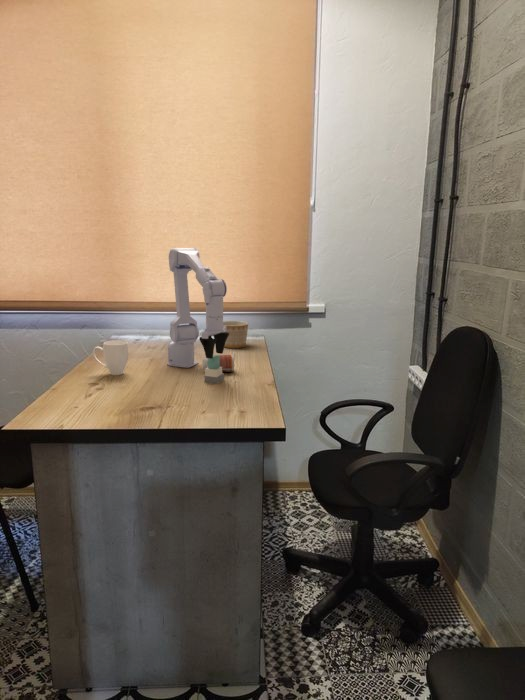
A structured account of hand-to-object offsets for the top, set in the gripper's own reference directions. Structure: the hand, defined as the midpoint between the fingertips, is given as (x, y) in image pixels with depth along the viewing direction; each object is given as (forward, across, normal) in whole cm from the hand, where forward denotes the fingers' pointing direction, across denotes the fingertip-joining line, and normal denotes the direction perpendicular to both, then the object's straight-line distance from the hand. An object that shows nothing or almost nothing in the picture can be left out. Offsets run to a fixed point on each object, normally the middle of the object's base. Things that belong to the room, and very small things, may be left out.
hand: (214, 355), depth 171 cm
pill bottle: (+6, +14, -1) cm, 15 cm away
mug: (+9, -8, +37) cm, 39 cm away
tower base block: (+9, 0, 0) cm, 9 cm away
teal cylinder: (+4, 0, 0) cm, 4 cm away
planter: (+9, +52, +17) cm, 55 cm away
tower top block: (+7, 0, 0) cm, 7 cm away
